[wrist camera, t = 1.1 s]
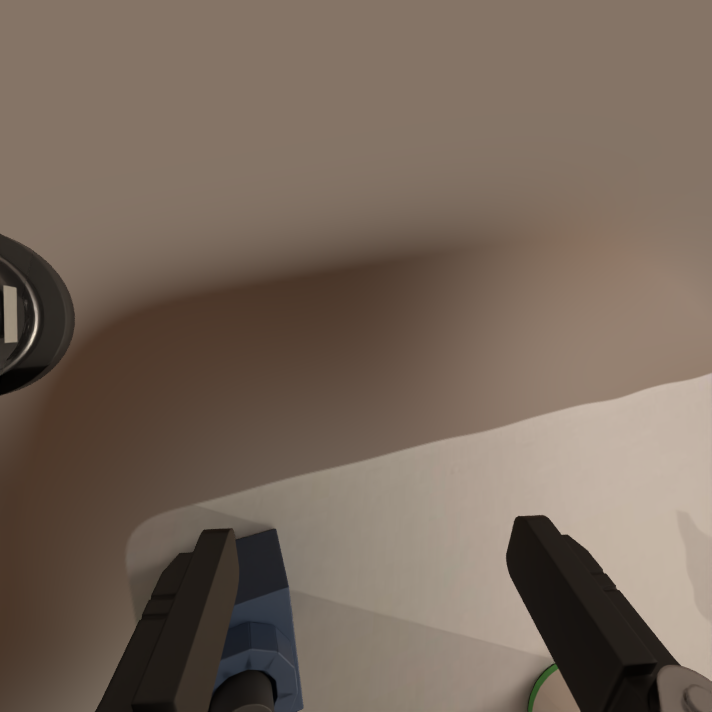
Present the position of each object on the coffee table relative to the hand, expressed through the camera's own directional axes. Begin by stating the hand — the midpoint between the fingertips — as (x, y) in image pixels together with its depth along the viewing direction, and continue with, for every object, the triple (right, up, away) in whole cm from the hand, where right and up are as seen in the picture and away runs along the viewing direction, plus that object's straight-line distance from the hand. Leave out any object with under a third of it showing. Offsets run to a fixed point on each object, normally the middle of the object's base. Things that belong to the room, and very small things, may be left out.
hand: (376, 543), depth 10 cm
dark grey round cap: (-7, -15, +10) cm, 19 cm away
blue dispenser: (-10, -14, +18) cm, 25 cm away
